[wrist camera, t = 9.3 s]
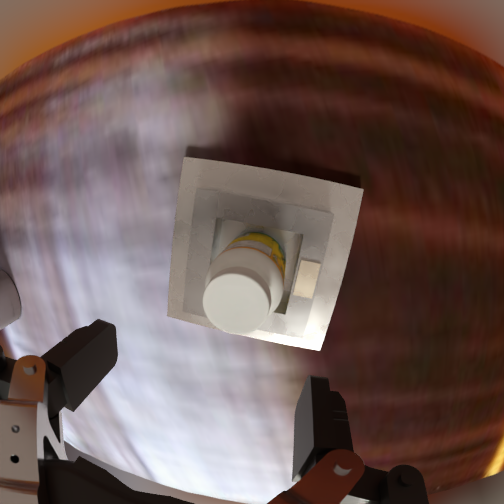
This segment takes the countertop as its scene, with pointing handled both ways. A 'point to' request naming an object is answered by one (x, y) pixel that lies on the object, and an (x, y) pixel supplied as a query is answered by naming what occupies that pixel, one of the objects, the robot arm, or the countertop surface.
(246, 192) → the white square holder
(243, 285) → the supplement bottle
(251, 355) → the countertop surface
